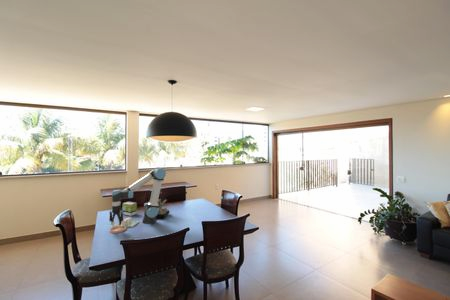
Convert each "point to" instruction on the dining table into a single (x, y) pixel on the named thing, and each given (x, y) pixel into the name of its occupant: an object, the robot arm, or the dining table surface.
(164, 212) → the coral
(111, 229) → the bowl
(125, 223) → the pale grey block
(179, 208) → the dining table surface
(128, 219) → the cream rectangular block
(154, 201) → the robot arm
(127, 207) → the tea box
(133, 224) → the parts tray
